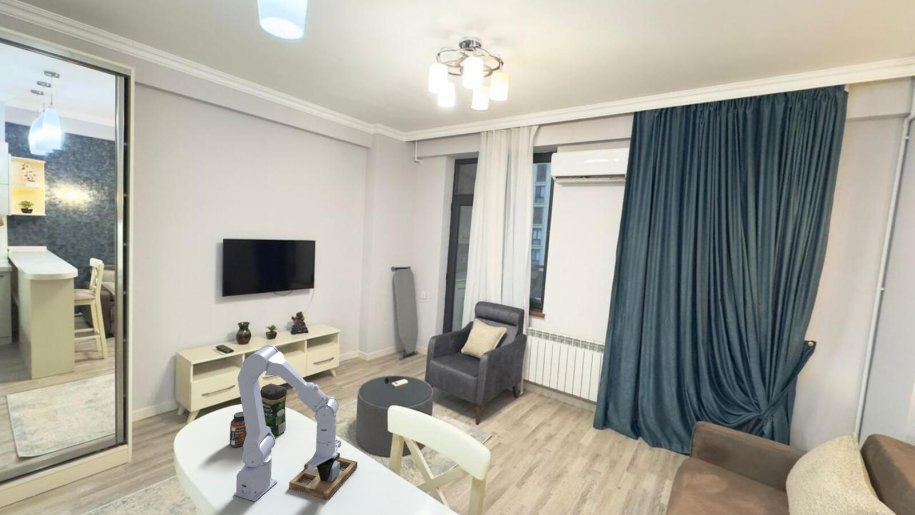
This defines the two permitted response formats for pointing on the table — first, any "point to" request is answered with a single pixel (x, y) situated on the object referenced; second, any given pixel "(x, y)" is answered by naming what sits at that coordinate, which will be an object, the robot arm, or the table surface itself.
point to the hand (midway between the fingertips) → (324, 479)
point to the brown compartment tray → (322, 487)
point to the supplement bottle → (237, 430)
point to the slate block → (334, 471)
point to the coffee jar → (274, 407)
